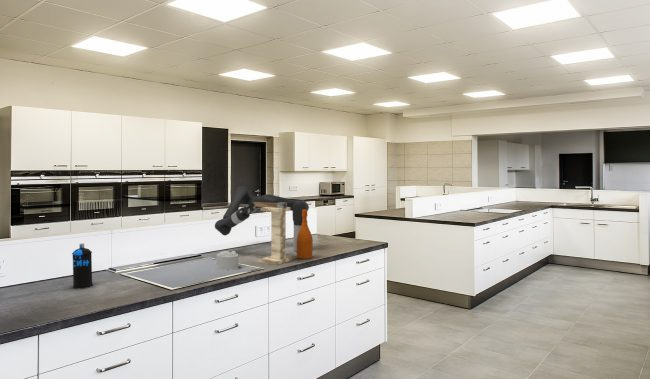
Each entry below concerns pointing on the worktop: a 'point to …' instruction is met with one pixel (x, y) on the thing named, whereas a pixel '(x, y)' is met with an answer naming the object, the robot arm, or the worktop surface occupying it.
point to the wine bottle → (304, 239)
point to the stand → (277, 236)
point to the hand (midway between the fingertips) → (258, 203)
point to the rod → (271, 204)
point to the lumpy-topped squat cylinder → (227, 260)
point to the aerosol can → (82, 267)
